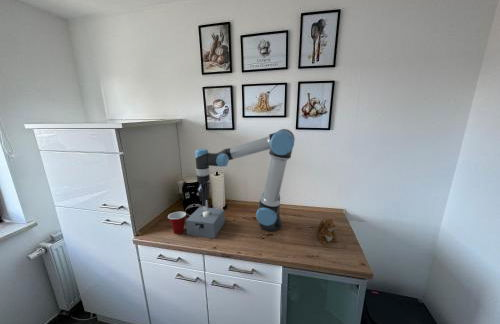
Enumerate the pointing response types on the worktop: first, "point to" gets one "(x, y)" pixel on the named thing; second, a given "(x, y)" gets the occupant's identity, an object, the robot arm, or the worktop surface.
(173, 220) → the plastic cup
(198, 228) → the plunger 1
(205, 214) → the peg
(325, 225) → the stuffed squirrel
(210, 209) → the socket block
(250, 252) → the worktop surface
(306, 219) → the worktop surface
